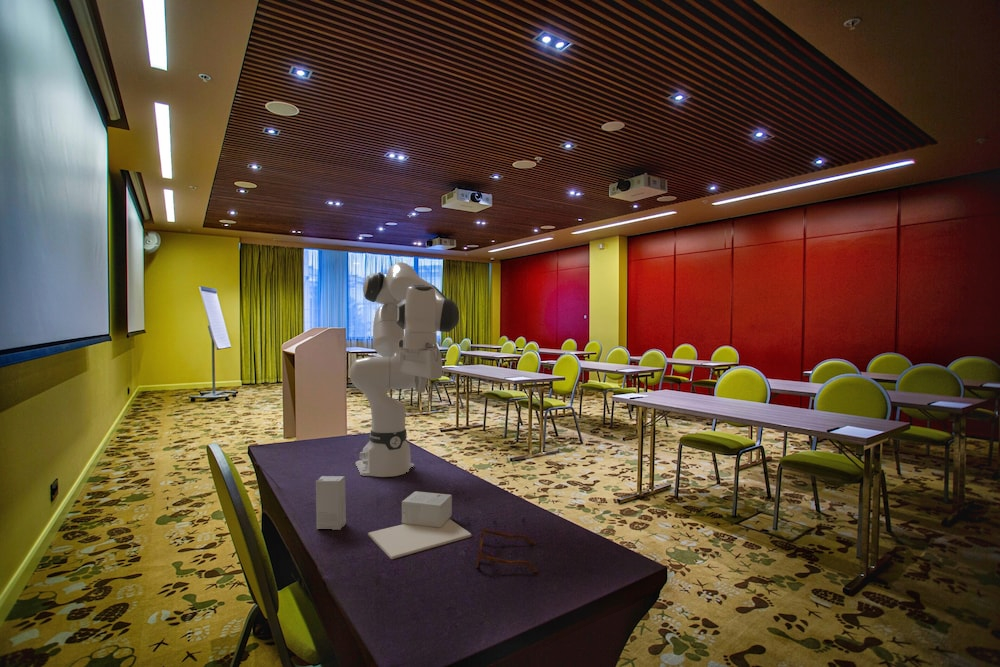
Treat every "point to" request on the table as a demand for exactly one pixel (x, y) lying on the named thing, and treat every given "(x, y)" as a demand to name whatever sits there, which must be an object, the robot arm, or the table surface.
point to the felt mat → (416, 537)
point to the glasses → (502, 559)
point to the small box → (427, 509)
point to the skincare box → (330, 502)
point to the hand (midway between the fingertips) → (419, 392)
